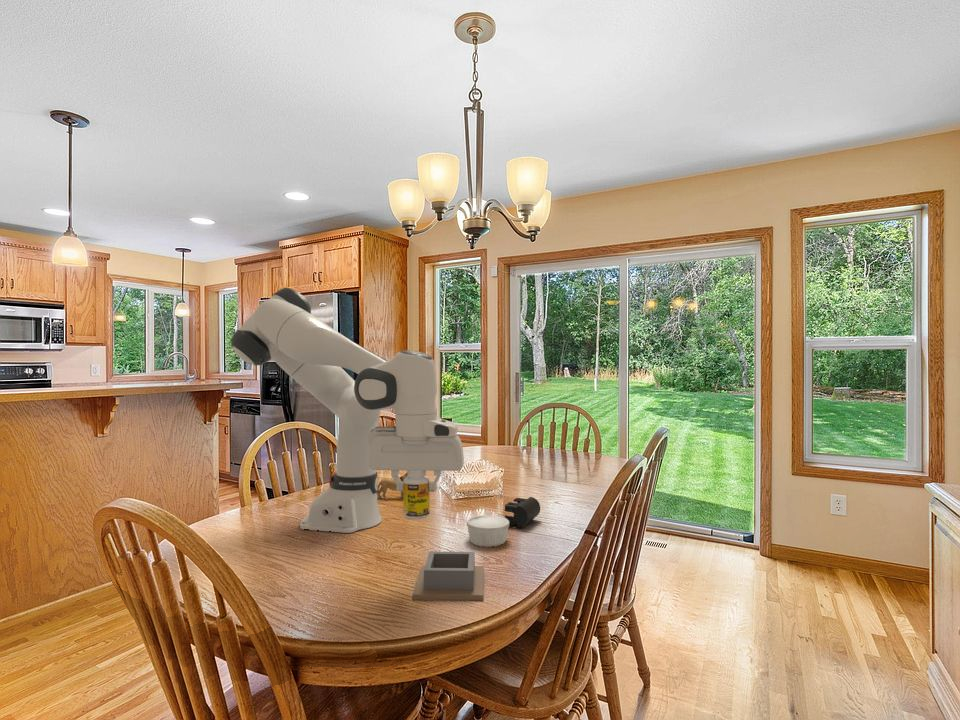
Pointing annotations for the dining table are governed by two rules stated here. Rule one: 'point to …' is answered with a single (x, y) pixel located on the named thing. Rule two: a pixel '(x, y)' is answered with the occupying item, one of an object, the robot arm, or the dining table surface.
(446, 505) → the dining table surface
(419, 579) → the socket holder
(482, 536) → the ramekin
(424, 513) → the supplement bottle
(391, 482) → the lion figurine
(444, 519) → the dining table surface
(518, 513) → the end cap
